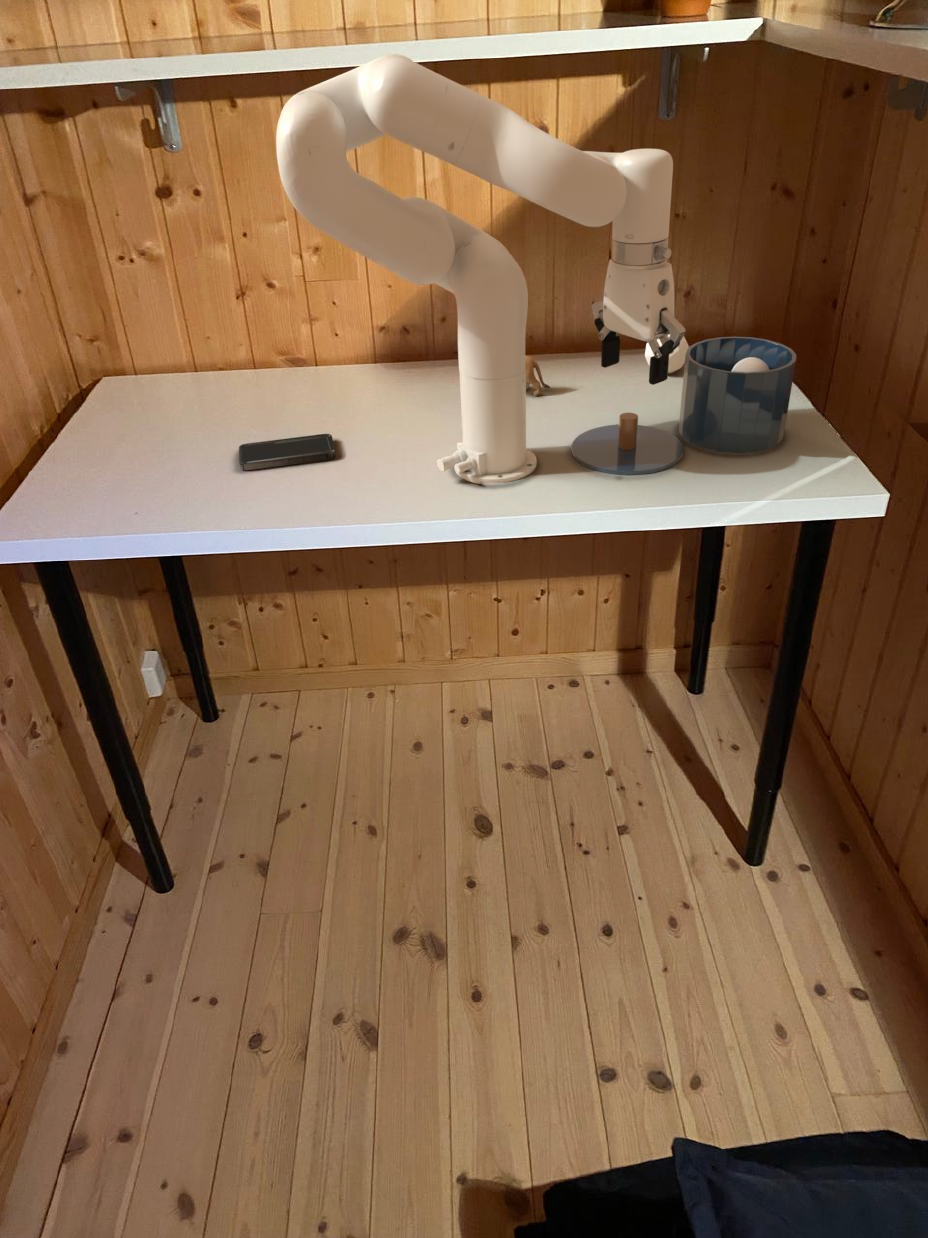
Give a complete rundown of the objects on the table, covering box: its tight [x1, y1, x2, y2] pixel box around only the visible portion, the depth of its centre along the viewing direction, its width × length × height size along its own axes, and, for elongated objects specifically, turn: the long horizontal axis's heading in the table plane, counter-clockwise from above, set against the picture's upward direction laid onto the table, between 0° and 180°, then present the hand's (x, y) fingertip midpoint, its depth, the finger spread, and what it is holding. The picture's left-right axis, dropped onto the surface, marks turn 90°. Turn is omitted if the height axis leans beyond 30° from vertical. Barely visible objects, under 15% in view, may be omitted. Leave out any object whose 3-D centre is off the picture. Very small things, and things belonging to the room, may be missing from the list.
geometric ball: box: [644, 333, 690, 375], centre depth 167 cm, size 8×8×8 cm
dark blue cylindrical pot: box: [678, 336, 797, 454], centre depth 142 cm, size 16×16×13 cm
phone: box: [238, 433, 336, 471], centre depth 147 cm, size 8×1×15 cm
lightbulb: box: [732, 357, 769, 372], centre depth 144 cm, size 6×6×11 cm
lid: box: [571, 412, 684, 476], centre depth 140 cm, size 17×17×6 cm
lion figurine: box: [525, 354, 551, 397], centre depth 162 cm, size 15×5×9 cm, turn 92°
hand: (633, 373), depth 135 cm, fingers open, 9 cm apart
